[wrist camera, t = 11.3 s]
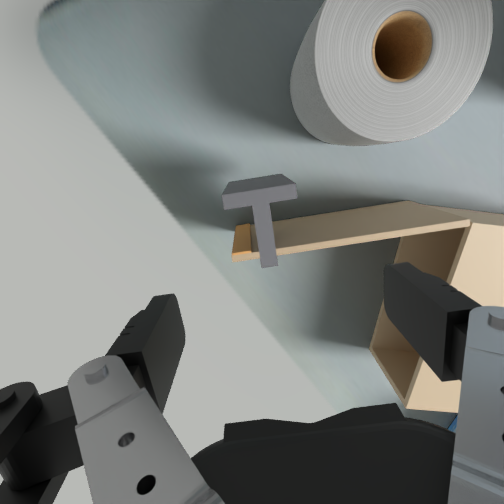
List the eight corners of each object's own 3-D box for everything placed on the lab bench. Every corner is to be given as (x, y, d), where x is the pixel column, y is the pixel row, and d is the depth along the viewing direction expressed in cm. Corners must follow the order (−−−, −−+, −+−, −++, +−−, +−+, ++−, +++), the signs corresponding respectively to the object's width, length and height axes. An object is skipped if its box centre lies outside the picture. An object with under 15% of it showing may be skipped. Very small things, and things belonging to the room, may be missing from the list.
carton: (410, 203, 35) (472, 222, 25) (541, 218, 35) (649, 243, 26) (368, 348, 41) (406, 408, 31) (480, 359, 42) (549, 420, 32)
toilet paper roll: (419, 115, 32) (511, 96, 21) (313, 166, 33) (347, 173, 22) (385, -12, 28) (474, -116, 17) (268, 52, 30) (282, -7, 19)
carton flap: (409, 149, 32) (518, 147, 19) (408, 205, 34) (507, 238, 21) (227, 178, 33) (214, 196, 20) (236, 232, 35) (230, 280, 22)
